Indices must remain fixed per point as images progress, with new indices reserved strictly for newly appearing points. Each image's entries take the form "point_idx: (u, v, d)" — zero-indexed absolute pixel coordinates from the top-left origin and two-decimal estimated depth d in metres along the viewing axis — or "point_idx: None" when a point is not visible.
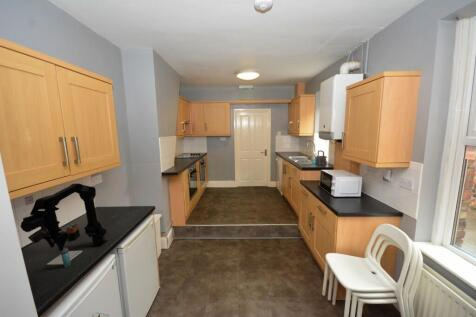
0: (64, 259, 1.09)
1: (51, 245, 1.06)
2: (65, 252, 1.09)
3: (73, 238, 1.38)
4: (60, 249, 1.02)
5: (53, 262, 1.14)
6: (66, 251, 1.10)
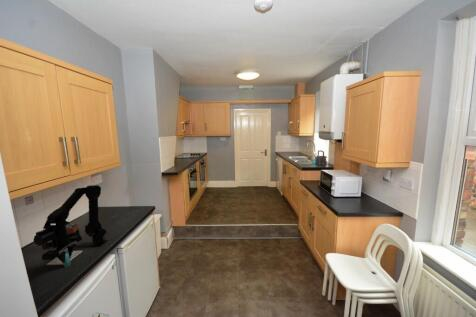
0: None
1: None
2: (65, 252, 1.09)
3: None
4: (62, 261, 1.09)
5: (53, 262, 1.14)
6: (66, 251, 1.10)
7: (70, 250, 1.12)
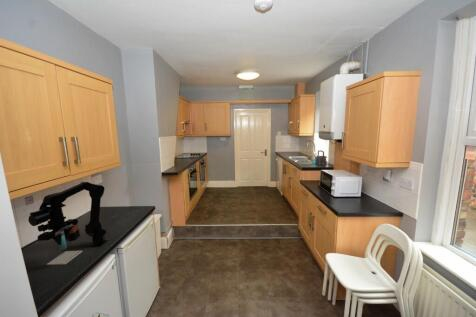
0: None
1: None
2: (61, 234, 1.09)
3: (73, 238, 1.38)
4: (58, 243, 1.09)
5: (53, 262, 1.14)
6: (62, 233, 1.10)
7: (66, 233, 1.12)
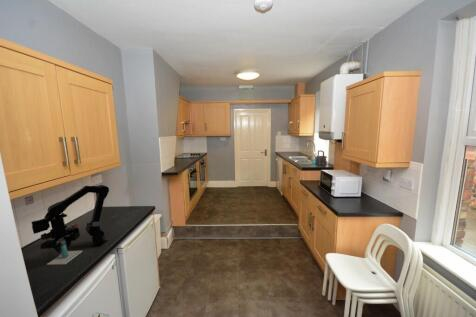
0: (62, 251, 1.17)
1: (66, 246, 1.21)
2: (63, 244, 1.17)
3: (73, 238, 1.38)
4: (58, 252, 1.15)
5: (53, 262, 1.14)
6: (64, 243, 1.17)
7: (69, 240, 1.20)
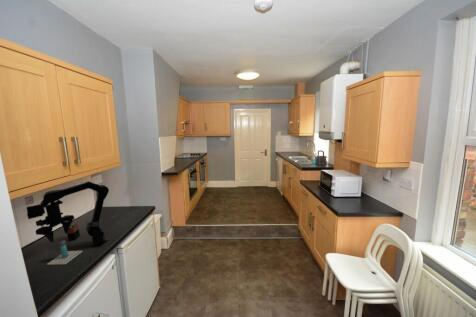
0: (62, 251, 1.17)
1: (65, 231, 1.22)
2: (63, 244, 1.17)
3: (73, 238, 1.38)
4: (50, 241, 1.12)
5: (53, 262, 1.14)
6: (64, 243, 1.17)
7: (67, 225, 1.22)
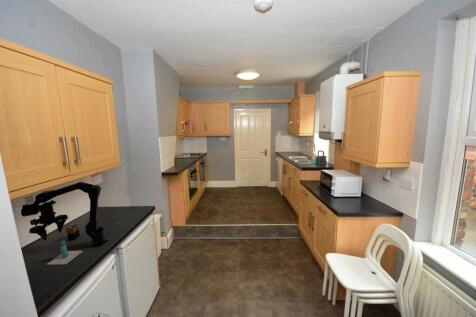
0: (62, 251, 1.17)
1: (58, 230, 1.26)
2: (63, 244, 1.17)
3: (73, 238, 1.38)
4: (43, 239, 1.16)
5: (53, 262, 1.14)
6: (64, 243, 1.17)
7: (61, 224, 1.26)
